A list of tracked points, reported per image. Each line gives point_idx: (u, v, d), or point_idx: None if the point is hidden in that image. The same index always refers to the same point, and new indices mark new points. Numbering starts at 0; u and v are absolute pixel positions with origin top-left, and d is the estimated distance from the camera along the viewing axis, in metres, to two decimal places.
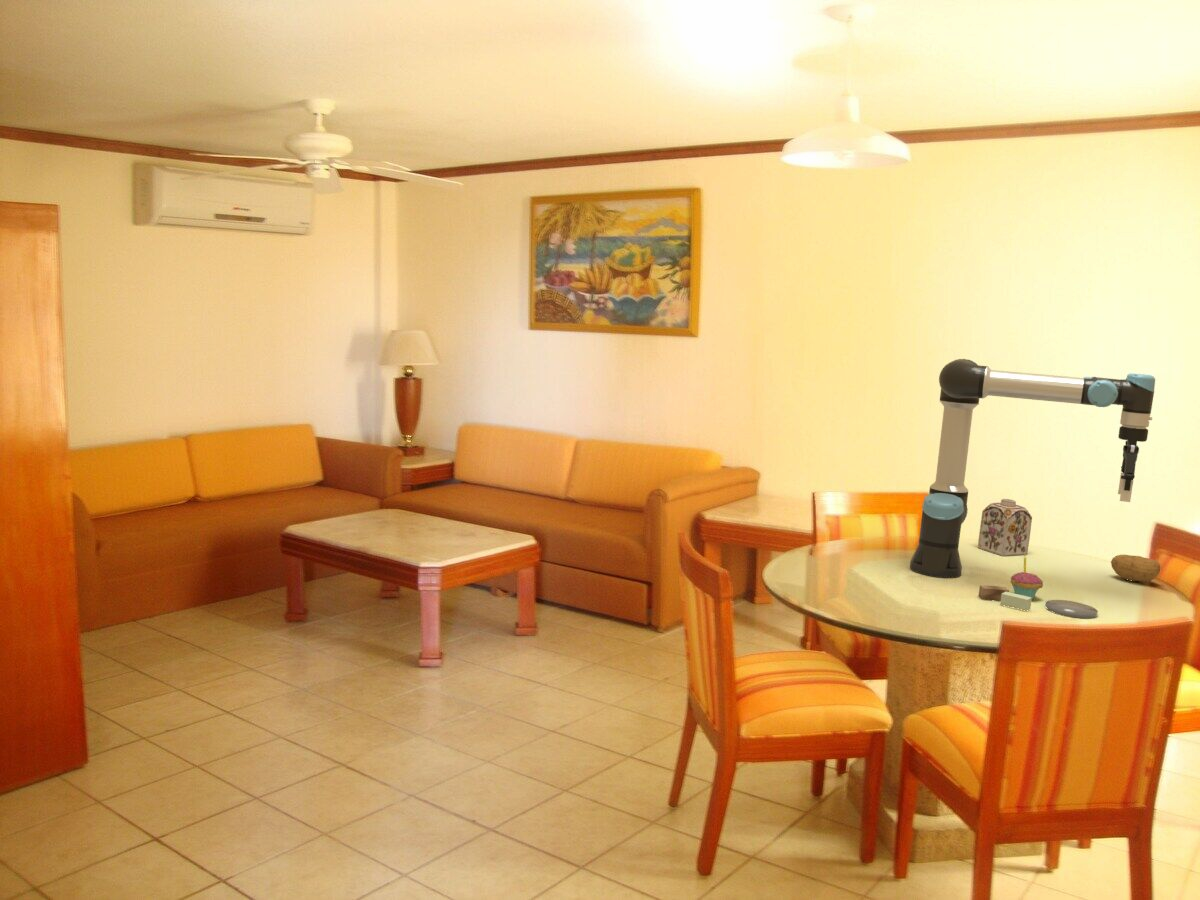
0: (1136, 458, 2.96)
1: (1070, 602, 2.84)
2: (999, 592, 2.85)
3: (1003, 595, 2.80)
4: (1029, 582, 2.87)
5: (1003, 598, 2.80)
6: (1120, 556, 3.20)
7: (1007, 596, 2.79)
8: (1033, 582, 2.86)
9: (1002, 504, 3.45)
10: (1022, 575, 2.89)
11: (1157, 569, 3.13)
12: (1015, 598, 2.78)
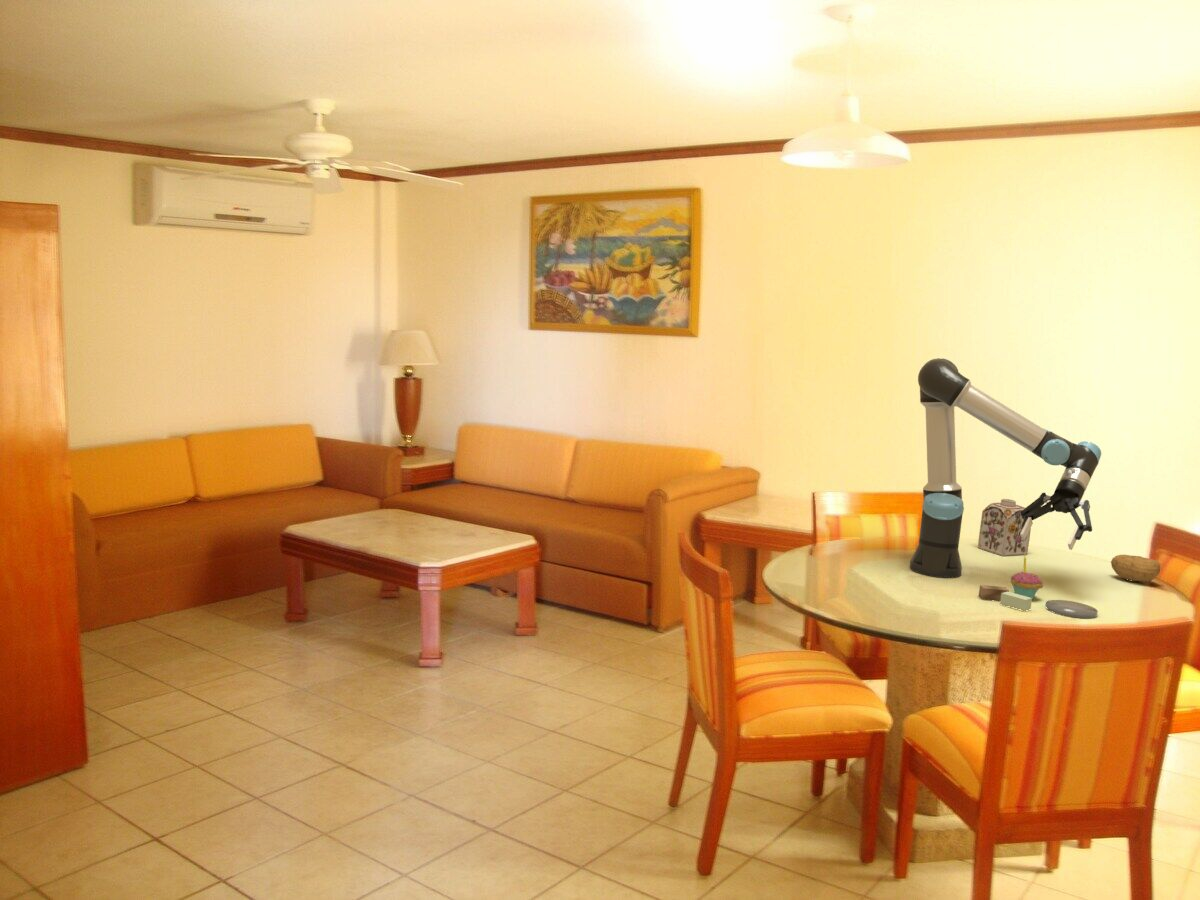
0: (1046, 503, 3.03)
1: (1070, 602, 2.84)
2: (999, 592, 2.85)
3: (1003, 595, 2.81)
4: (1029, 582, 2.87)
5: (1003, 598, 2.81)
6: (1120, 556, 3.20)
7: (1006, 596, 2.80)
8: (1033, 582, 2.86)
9: (1002, 504, 3.45)
10: (1022, 575, 2.89)
11: (1157, 569, 3.13)
12: (1014, 598, 2.78)
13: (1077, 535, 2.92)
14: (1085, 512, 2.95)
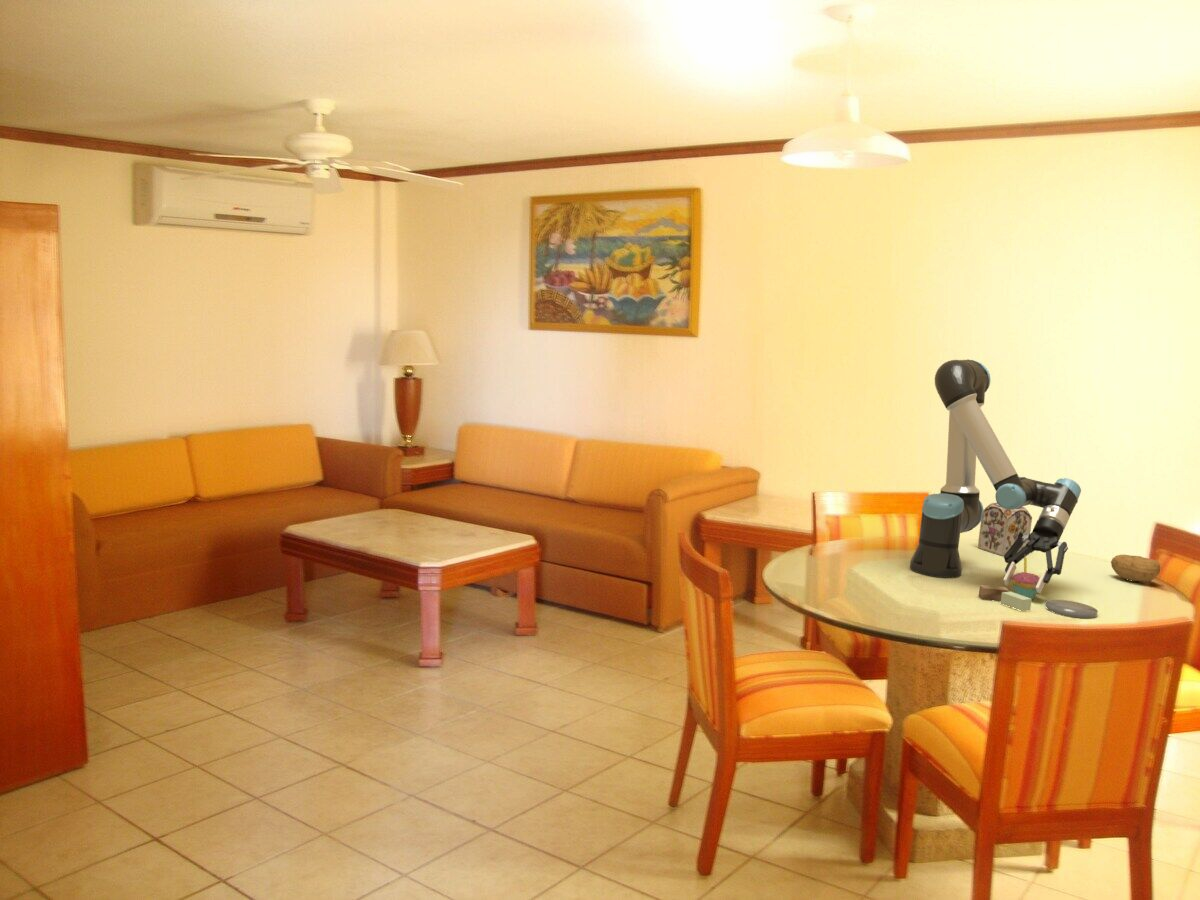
0: (1026, 544, 2.95)
1: (1070, 602, 2.84)
2: (999, 592, 2.85)
3: (1003, 594, 2.81)
4: (1029, 582, 2.87)
5: (1003, 597, 2.81)
6: (1120, 556, 3.20)
7: (1006, 595, 2.80)
8: (1033, 582, 2.86)
9: None
10: (1022, 575, 2.89)
11: (1157, 569, 3.13)
12: (1012, 597, 2.79)
13: (1045, 578, 2.86)
14: (1059, 554, 2.88)
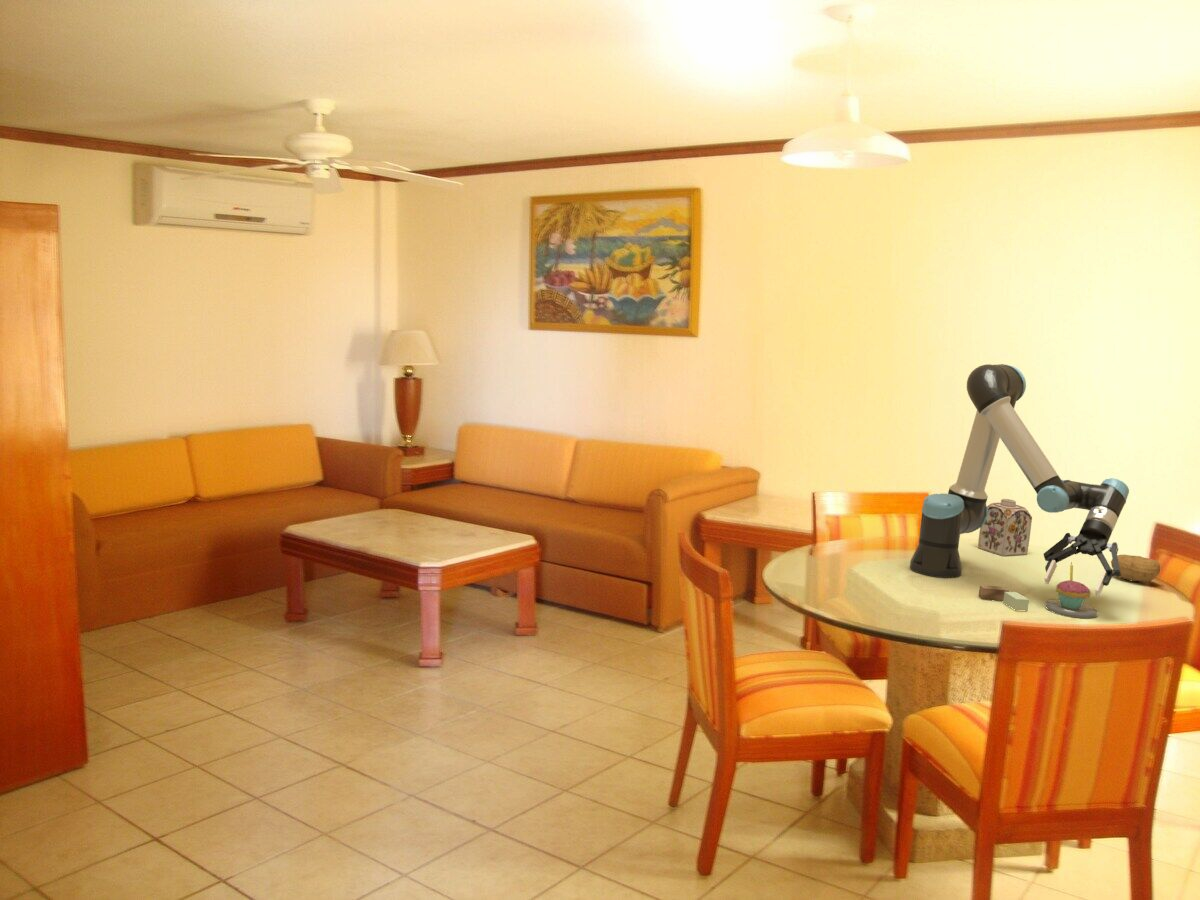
0: None
1: None
2: (999, 592, 2.85)
3: (1005, 593, 2.82)
4: (1076, 591, 2.75)
5: (1005, 596, 2.82)
6: (1120, 556, 3.20)
7: (1007, 594, 2.81)
8: (1080, 591, 2.75)
9: (1002, 504, 3.45)
10: (1069, 583, 2.78)
11: (1157, 569, 3.13)
12: (1010, 597, 2.79)
13: (1105, 581, 2.73)
14: (1113, 555, 2.76)
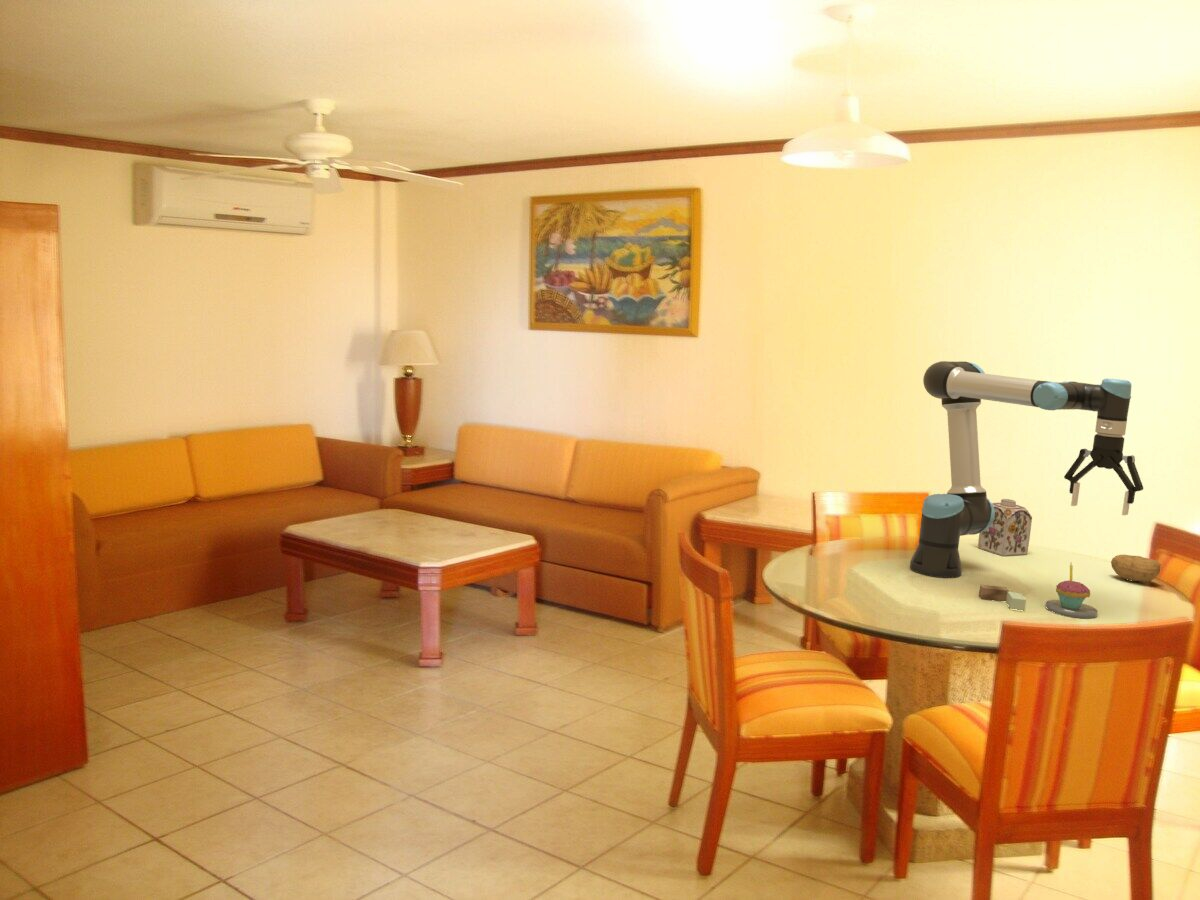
0: (1088, 464, 2.86)
1: None
2: (999, 592, 2.85)
3: (1007, 593, 2.83)
4: (1076, 591, 2.75)
5: (1007, 596, 2.83)
6: (1120, 556, 3.20)
7: (1008, 594, 2.82)
8: (1080, 591, 2.75)
9: (1002, 504, 3.45)
10: (1068, 583, 2.78)
11: (1157, 569, 3.13)
12: (1009, 596, 2.80)
13: (1129, 501, 2.80)
14: (1131, 472, 2.79)
